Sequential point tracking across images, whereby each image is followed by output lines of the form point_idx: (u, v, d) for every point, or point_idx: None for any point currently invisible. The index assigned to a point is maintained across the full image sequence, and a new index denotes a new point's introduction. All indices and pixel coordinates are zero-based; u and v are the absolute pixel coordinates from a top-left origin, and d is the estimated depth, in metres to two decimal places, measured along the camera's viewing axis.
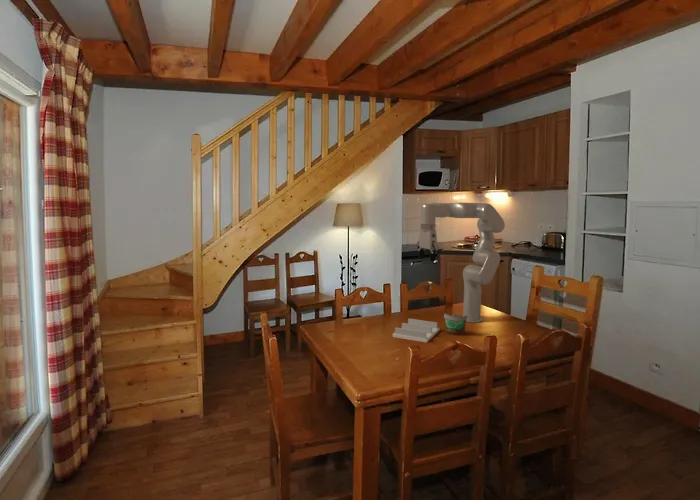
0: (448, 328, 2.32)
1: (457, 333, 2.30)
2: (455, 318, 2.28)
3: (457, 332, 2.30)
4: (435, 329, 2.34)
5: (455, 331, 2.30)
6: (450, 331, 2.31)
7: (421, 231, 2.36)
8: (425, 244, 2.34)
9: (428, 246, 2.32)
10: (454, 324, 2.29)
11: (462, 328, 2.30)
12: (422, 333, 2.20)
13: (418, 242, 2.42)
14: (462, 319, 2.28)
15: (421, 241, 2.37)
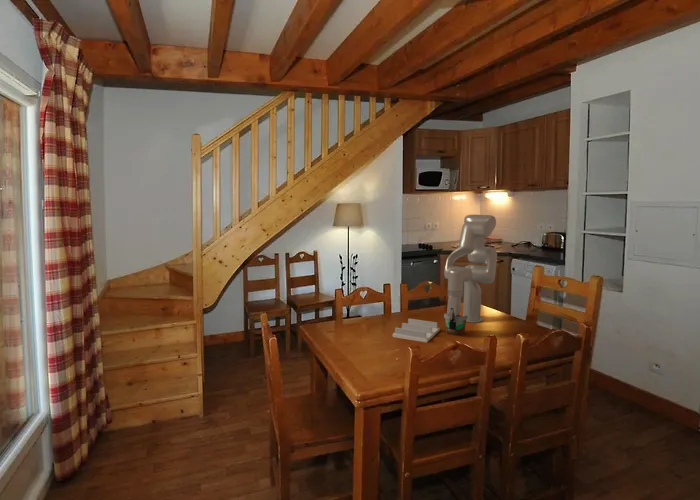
0: (448, 328, 2.32)
1: (456, 333, 2.30)
2: None
3: (457, 332, 2.30)
4: (435, 329, 2.34)
5: (455, 331, 2.30)
6: (450, 331, 2.31)
7: (458, 299, 2.26)
8: (459, 309, 2.31)
9: (460, 310, 2.33)
10: None
11: (462, 328, 2.30)
12: (422, 333, 2.20)
13: (452, 314, 2.25)
14: (462, 319, 2.28)
15: (458, 309, 2.27)
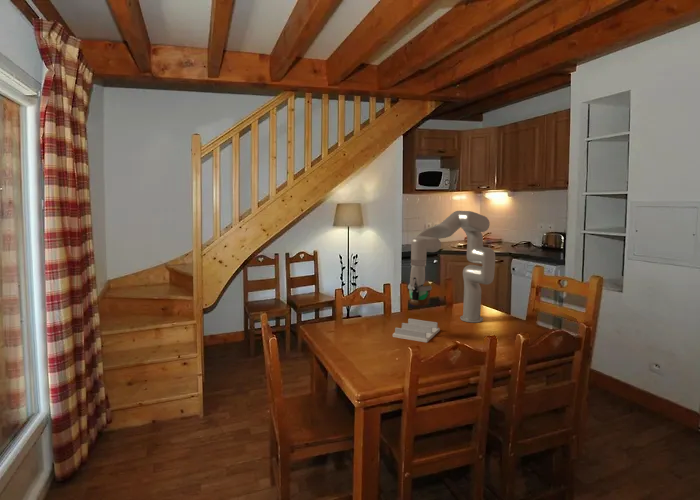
0: (412, 299, 2.26)
1: (420, 303, 2.24)
2: None
3: (420, 303, 2.24)
4: (435, 329, 2.34)
5: (418, 302, 2.24)
6: (413, 302, 2.25)
7: (421, 268, 2.21)
8: (423, 280, 2.25)
9: (424, 280, 2.27)
10: None
11: (426, 299, 2.24)
12: (422, 333, 2.20)
13: (415, 284, 2.19)
14: (425, 289, 2.22)
15: (421, 278, 2.22)
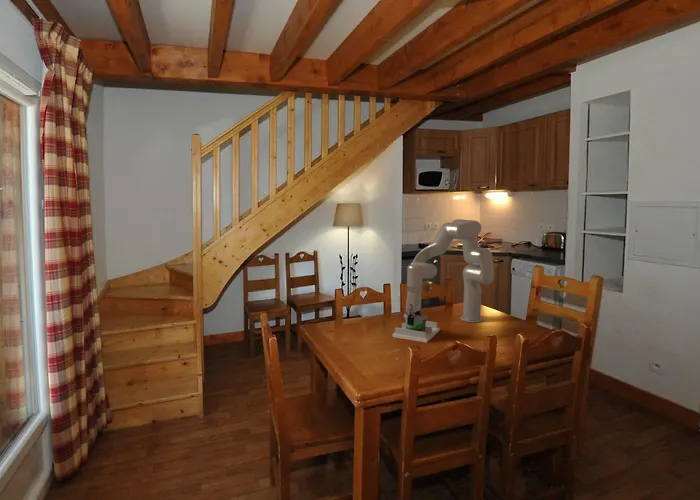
0: (408, 328, 2.27)
1: None
2: (414, 318, 2.23)
3: None
4: (435, 329, 2.34)
5: None
6: None
7: (417, 295, 2.22)
8: (419, 306, 2.26)
9: (420, 306, 2.28)
10: None
11: (421, 328, 2.25)
12: (422, 333, 2.20)
13: (410, 309, 2.20)
14: (421, 319, 2.23)
15: (417, 305, 2.23)
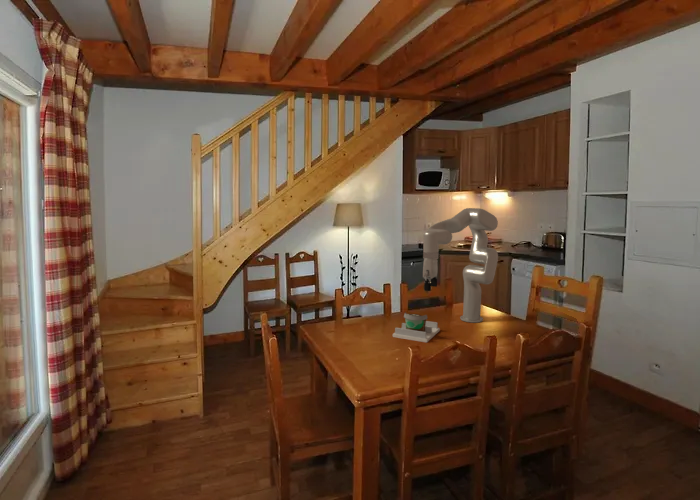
0: (408, 328, 2.27)
1: None
2: (414, 318, 2.23)
3: None
4: (435, 329, 2.34)
5: None
6: None
7: (433, 260, 2.24)
8: (435, 272, 2.28)
9: None
10: (413, 324, 2.24)
11: (421, 328, 2.25)
12: (422, 333, 2.20)
13: (427, 275, 2.22)
14: (421, 319, 2.23)
15: (433, 271, 2.25)
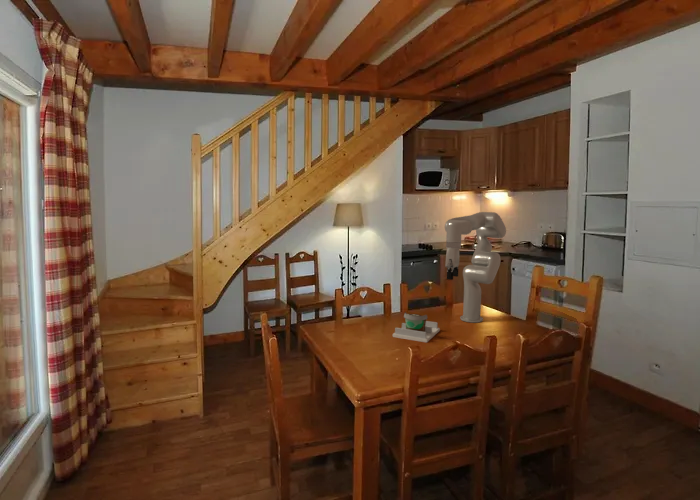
0: (408, 328, 2.27)
1: None
2: (414, 318, 2.23)
3: None
4: (435, 329, 2.34)
5: None
6: None
7: (456, 250, 2.29)
8: (458, 262, 2.33)
9: (458, 262, 2.35)
10: (413, 324, 2.24)
11: (421, 328, 2.25)
12: (422, 333, 2.20)
13: (450, 263, 2.27)
14: (421, 319, 2.23)
15: (456, 260, 2.30)
